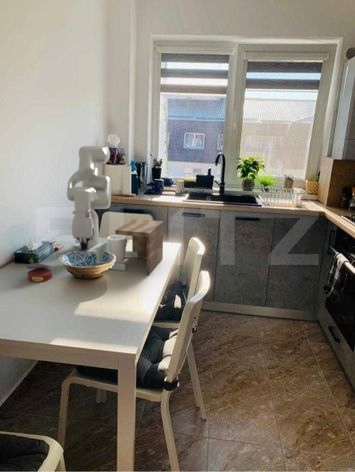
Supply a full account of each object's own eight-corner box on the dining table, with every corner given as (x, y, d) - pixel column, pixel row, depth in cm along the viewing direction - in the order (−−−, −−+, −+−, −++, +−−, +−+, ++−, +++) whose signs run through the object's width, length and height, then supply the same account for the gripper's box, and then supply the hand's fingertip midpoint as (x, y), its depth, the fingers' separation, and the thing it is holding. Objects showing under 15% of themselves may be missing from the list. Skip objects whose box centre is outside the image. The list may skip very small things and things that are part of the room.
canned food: (28, 290, 155) (17, 269, 154) (46, 280, 164) (35, 261, 163) (42, 284, 149) (31, 263, 148) (60, 274, 157) (50, 254, 156)
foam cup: (117, 267, 172) (116, 241, 168) (104, 263, 177) (103, 237, 174) (131, 262, 179) (130, 237, 176) (118, 258, 185) (117, 234, 181)
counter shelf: (116, 271, 166) (115, 230, 161) (133, 256, 189) (132, 219, 184) (149, 275, 163) (149, 232, 158) (162, 258, 186) (163, 221, 180)
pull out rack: (85, 266, 171) (84, 246, 169) (102, 253, 190) (101, 235, 187) (124, 270, 167) (124, 250, 165) (138, 257, 186) (138, 238, 184)
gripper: (65, 214, 173) (66, 251, 177) (93, 216, 170) (95, 253, 175) (72, 212, 180) (74, 247, 185) (100, 213, 177) (101, 249, 182)
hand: (84, 250), depth 180 cm, fingers closed
